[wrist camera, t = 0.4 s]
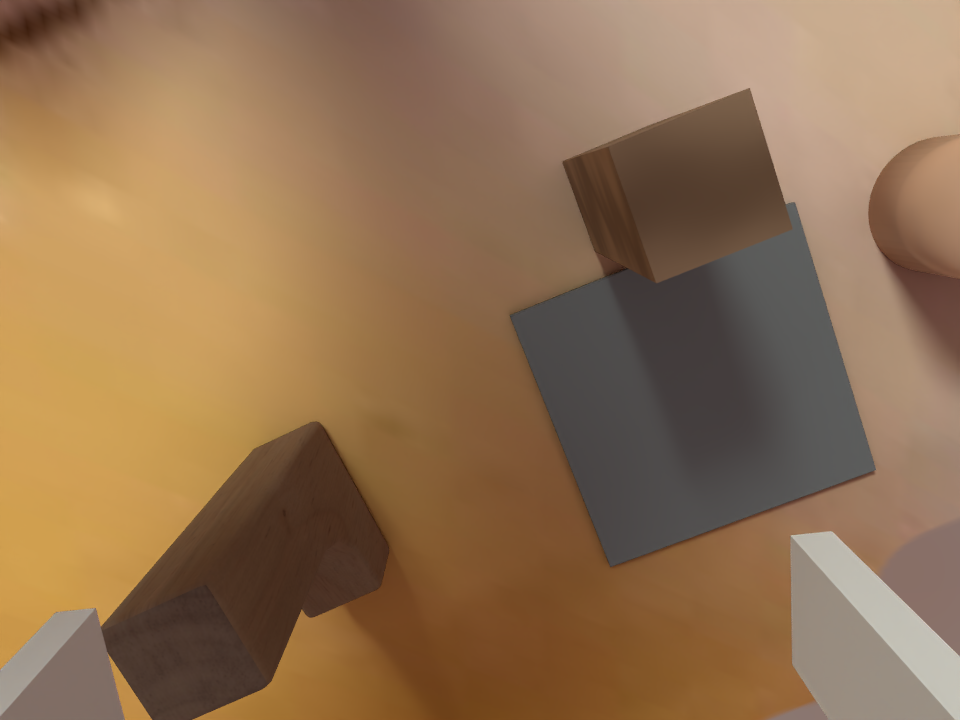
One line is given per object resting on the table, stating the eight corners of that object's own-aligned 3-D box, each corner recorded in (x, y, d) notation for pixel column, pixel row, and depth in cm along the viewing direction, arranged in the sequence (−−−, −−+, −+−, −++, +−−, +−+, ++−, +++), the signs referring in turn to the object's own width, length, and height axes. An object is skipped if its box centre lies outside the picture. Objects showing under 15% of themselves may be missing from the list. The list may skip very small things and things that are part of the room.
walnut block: (562, 161, 39) (608, 146, 25) (652, 123, 38) (749, 88, 25) (595, 251, 40) (656, 283, 26) (683, 215, 39) (793, 229, 26)
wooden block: (392, 549, 44) (335, 790, 26) (324, 579, 44) (224, 837, 27) (319, 416, 42) (205, 581, 24) (249, 449, 42) (88, 634, 25)
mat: (509, 315, 41) (510, 316, 40) (791, 202, 39) (795, 202, 39) (609, 563, 44) (610, 567, 44) (872, 467, 43) (876, 469, 42)
